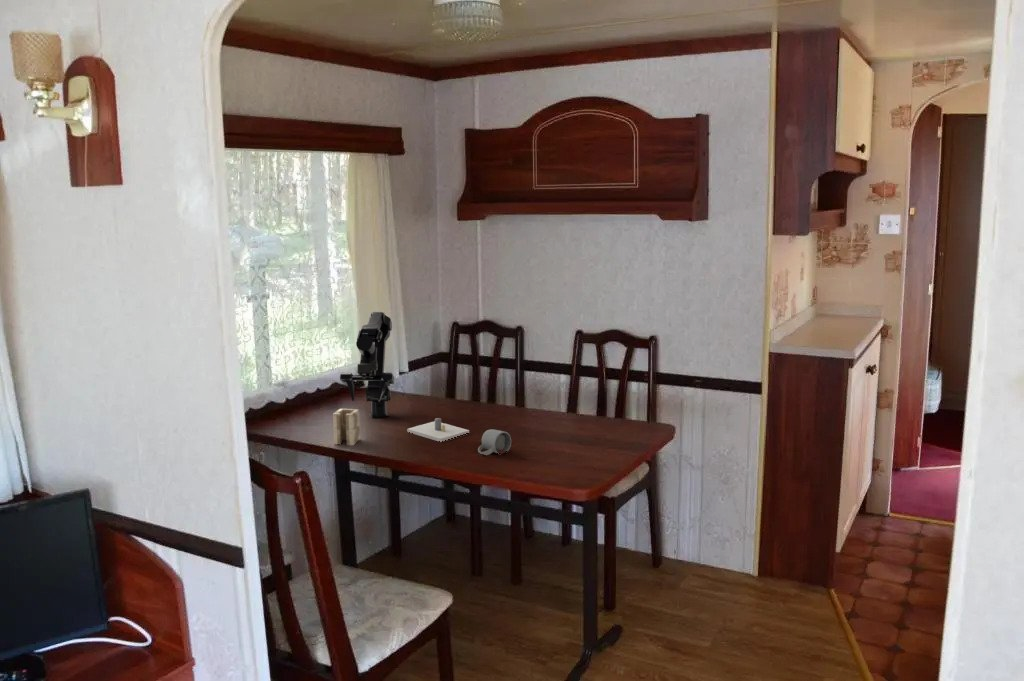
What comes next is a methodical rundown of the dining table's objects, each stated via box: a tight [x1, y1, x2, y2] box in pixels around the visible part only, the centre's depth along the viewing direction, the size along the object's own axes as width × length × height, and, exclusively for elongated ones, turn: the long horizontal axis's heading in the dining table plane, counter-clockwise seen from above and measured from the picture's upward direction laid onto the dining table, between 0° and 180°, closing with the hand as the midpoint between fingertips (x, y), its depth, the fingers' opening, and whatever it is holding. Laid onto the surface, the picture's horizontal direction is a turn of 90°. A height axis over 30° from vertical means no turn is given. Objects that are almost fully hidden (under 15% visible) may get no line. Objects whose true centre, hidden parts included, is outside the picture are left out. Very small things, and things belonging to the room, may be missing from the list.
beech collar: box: [332, 408, 361, 446], centre depth 298 cm, size 7×7×11 cm
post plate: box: [406, 417, 470, 443], centre depth 309 cm, size 18×14×5 cm
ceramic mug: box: [477, 428, 512, 456], centre depth 287 cm, size 11×8×8 cm
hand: (366, 401), depth 304 cm, fingers open, 9 cm apart
